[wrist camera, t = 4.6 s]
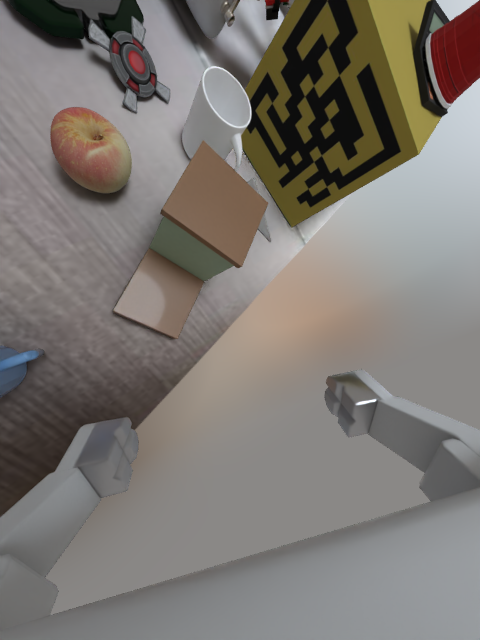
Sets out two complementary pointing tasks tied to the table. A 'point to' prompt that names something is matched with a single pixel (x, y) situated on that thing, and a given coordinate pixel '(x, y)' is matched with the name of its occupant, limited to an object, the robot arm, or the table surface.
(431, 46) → the plastic cup
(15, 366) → the cup
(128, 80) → the toy
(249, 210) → the green brown stepped block
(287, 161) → the decorative box
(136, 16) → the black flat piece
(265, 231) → the grey triangular spike
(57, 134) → the apple
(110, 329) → the table surface
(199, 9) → the lamp
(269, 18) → the figurine
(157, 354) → the table surface
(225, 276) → the table surface
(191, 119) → the mug
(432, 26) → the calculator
